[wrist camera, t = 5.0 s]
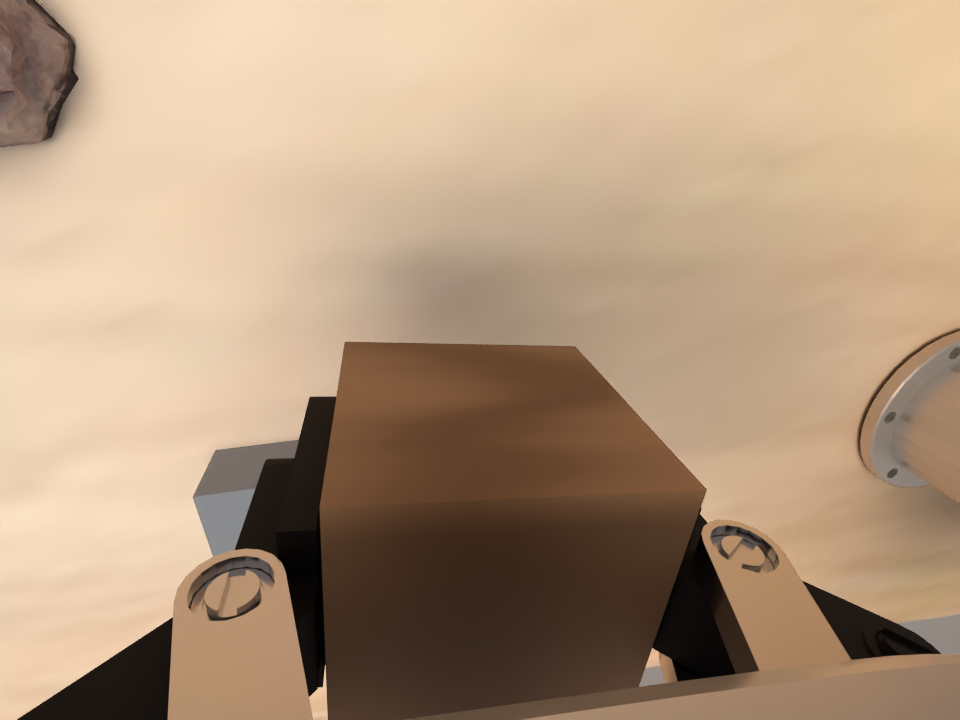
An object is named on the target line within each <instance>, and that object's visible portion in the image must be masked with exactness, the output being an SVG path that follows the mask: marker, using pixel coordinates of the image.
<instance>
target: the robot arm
mask: <svg viewBox="0 0 960 720" xmlns="http://www.w3.org/2000/svg"><path fill="white" fill-rule="evenodd" d="M335 404H336V397H310V398H309V402H308V406H307V410H306V414H305V418H304V422H303V426H302V430H301V434H300V438H299V442H298V446H297V450H296V453H295V457H294V458H273V459H267V460H266V461H265V463H264V465H263V468H262V471H261V474H260V477H259V480H258V483H257V486H256V488H255V491H254V494H253V497H252V500H251V503H250V506H249V509H248V512H247V515H246V518H245V521H244V524H243V527H242V530H241V533H240V535H239V538H238V541H237V544H236V547H235V550H233V551H228V552H225V553H222V554H220V555H217V556H214V557H212V558H210V559H209V560H207V561H205V562H203V563H202V564H200V565H198V566H197V567H196V568H195V569H194V570H193V571H192V572H191V573H189V574H188V575H187V576H186V577H185V579H184V580H183V582H182V583H181V585H180V586H179V588H178V589H177V593H176V596H175V600H174V610H173V618H171V619H170V620H168V621H167V622H165V623H163V624H162V625H160V626H159V627H157V628H156V629H154V630H153V631H151V632H150V633H148V634H147V635H145V636H144V637H142V638H141V639H139V640H138V641H136V642H135V643H133V644H132V645H130V646H128V647H127V648H125V649H124V650H122V651H121V652H119V653H118V654H116V655H115V656H113V657H112V658H110V659H109V660H107V661H106V662H104V663H103V664H101V665H100V666H98V667H96V668H95V669H93V670H92V671H90V672H89V673H87V674H86V675H84V676H83V677H81V678H80V679H78V680H77V681H75V682H74V683H72V684H71V685H69V686H68V687H66V688H65V689H63V690H61V691H60V692H58V693H57V694H55V695H54V696H52V697H51V698H49V699H48V700H46V701H45V702H43V703H42V704H40V705H39V706H37V707H36V708H34V709H33V710H31V711H30V712H28V713H26V714H25V715H23V716H22V717H20V718H19V719H17V720H313V717H312V711H311V706H310V700H309V696H311V695H312V694H313V693H314V692H315V691H316V690H317V687H323V679H324V669H325V665H326V657H325V632H324V607H323V582H322V558H321V533H320V501H321V495H322V488H323V482H324V475H325V469H326V462H327V456H328V449H329V443H330V436H331V430H332V423H333V417H334V410H335ZM860 447H861V456H862V458H863V461H864V464H865V465H866V467H867V468H868V469H869V470H870V472H872V473H873V474H874V475H876V476H877V477H879V478H880V479H881V480H883V481H884V482H886V483H888V484H891V485H893V486H897V487H904V488H910V487H921V486H925V485H931V486H933V487H934V488H936V489H937V490H939V491H941V492H942V493H944V494H945V495H947V496H948V497H950V498H952V499H953V500H955V501H956V502H958V503H959V504H960V331H958V332H955V333H953V334H950V335H947V336H945V337H943V338H941V339H939V340H937V341H935V342H933V343H931V344H930V345H928V346H926V347H925V348H923V349H922V350H921V351H919V352H918V353H916V354H915V355H914V356H912V357H911V358H910V359H909V360H908V361H907V362H905V363H904V364H903V365H902V366H901V367H900V368H899V369H898V370H897V371H896V372H895V373H894V374H893V375H892V376H891V378H890V379H889V380H888V381H887V382H886V383H885V384H884V386H883V387H882V389H881V390H880V392H879V393H878V395H877V396H876V398H875V399H874V401H873V403H872V405H871V407H870V409H869V411H868V413H867V415H866V418H865V421H864V424H863V427H862V432H861V439H860ZM701 509H702V508H700V510H699V513H698V516H697V519H696V522H695V525H694V528H693V531H692V534H691V536H690V539H689V542H688V545H687V548H686V551H685V554H684V557H683V560H682V562H681V565H680V568H679V571H678V574H677V577H676V580H675V583H674V586H673V588H672V591H671V594H670V597H669V600H668V603H667V606H666V609H665V612H664V615H663V617H662V620H661V623H660V626H659V629H658V632H657V635H656V638H655V641H654V643H653V646H652V648H654V649H655V650H657V651H659V660H660V665H661V669H662V673H663V677H664V681H665V684H657V685H650V686H644V687H635V688H628V689H620V690H613V691H606V692H598V693H591V694H584V695H576V696H569V697H562V698H555V699H547V700H540V701H533V702H525V703H518V704H511V705H504V706H497V707H490V708H483V709H476V710H469V711H462V712H455V713H447V714H440V715H433V716H426V717H419V718H412V719H405V720H960V655H949V654H941V653H940V652H939V651H938V650H936V649H935V648H934V647H933V646H932V645H931V644H930V643H928V642H927V641H926V640H924V639H923V638H922V637H920V636H919V635H917V634H916V633H914V632H912V631H910V630H908V629H906V628H904V627H902V626H900V625H899V624H896V623H894V622H892V621H890V620H888V619H885V618H883V617H881V616H879V615H877V614H874V613H872V612H870V611H868V610H866V609H863V608H861V607H859V606H857V605H855V604H852V603H850V602H848V601H846V600H844V599H841V598H839V597H837V596H835V595H832V594H830V593H828V592H826V591H824V590H821V589H819V588H817V587H815V586H813V585H810V584H808V583H806V582H804V581H802V580H801V578H800V577H799V575H798V574H797V572H796V570H795V569H794V567H793V566H792V564H791V562H790V561H789V559H788V558H787V556H786V554H785V553H784V552H783V551H782V549H781V548H780V547H779V546H778V544H776V543H775V542H774V541H773V540H772V539H770V538H769V537H768V536H767V535H765V534H763V533H762V532H760V531H758V530H757V529H755V528H753V527H750V526H748V525H745V524H743V523H739V522H735V521H731V520H715V521H711V522H709V523H707V522H706V521H705V519H704V518H703V517H702V516H701V515H700V512H701Z"/></svg>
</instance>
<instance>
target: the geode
mask: <svg viewBox="0 0 960 720" xmlns="http://www.w3.org/2000/svg"><path fill="white" fill-rule="evenodd" d="M74 53H75V44H74V43H73V42H72V40H71V39H70V37H69V36H68V35H67V33H66V32H65V30H64V29H63V28H62V27H61V26H60V25H59V24H58V23H57V22H56V21H55V20H54V19H53V18H52V17H51V16H50V15H49V14H48V13H47V12H46V11H45V10H44V9H43V8H42V7H41V6H40V5H39V4H38V3H37V2H36V1H35V0H0V147H4V146H12V145H20V144H29V143H36V142H41V141H43V140H45V139H48V138H50V137H52V135H53V132H54V129H55V125H56V122H57V119H58V116H59V113H60V110H61V108H62V105H63V103H64V101H65V100H66V98H67V97H68V95H69V93H70V92H71V90H72V89H73V87H74V86H75V84H76V82H77V81H78V77H77V76H76V74H75V72H74V71H73V61H74Z"/></svg>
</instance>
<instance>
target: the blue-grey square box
mask: <svg viewBox="0 0 960 720" xmlns="http://www.w3.org/2000/svg"><path fill="white" fill-rule="evenodd" d="M298 442H299V440H295V441H287V442H279V443H271V444H263V445H255V446H247V447H239V448H231V449H223V450H216V451H215V453H214V455H213V457H212V459H211V461H210V463H209V465H208V467H207V469H206V471H205V473H204V475H203V477H202V479H201V481H200V483H199V485H198V487H197V489H196V491H195V493H194V495H193V499H194V502H195V505H196V508H197V511H198V514H199V517H200V520H201V523H202V525H203V528H204V531H205V534H206V537H207V540H208V543H209V546H210V549H211V552H212V554H213V557H214V556H217V555H220V554H222V553H225V552H228V551H233V550H235V547H236V544H237V541H238V538H239V535H240V533H241V530H242V527H243V524H244V521H245V518H246V515H247V512H248V509H249V506H250V503H251V500H252V497H253V494H254V491H255V488H256V486H257V483H258V480H259V477H260V474H261V471H262V468H263V465H264V463H265V461H266V460H267V459H273V458H294V457H295V453H296V450H297V446H298Z"/></svg>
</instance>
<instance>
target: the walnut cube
mask: <svg viewBox="0 0 960 720" xmlns="http://www.w3.org/2000/svg"><path fill="white" fill-rule="evenodd" d="M706 490H707V489H706V488H705V487H704V486H703V485H702V484H701V483H700V482H699V481H698V480H697V478H696V477H695V476H694V475H693V474H692V473H691V472H690V471H689V470H688V469H687V468H686V466H685V465H684V464H683V463H682V462H681V461H680V460H679V459H678V458H677V457H676V456H675V455H674V453H673V452H672V451H671V450H670V449H669V448H668V447H667V446H666V445H665V444H664V443H663V441H662V440H661V439H660V438H659V437H658V436H657V435H656V434H655V433H654V432H653V431H652V430H651V428H650V427H649V426H648V425H647V424H646V423H645V422H644V421H643V420H642V419H641V418H640V417H639V415H638V414H637V413H636V412H635V411H634V410H633V409H632V408H631V407H630V406H629V405H628V403H627V402H626V401H625V400H624V399H623V398H622V397H621V396H620V395H619V394H618V393H617V392H616V390H615V389H614V388H613V387H612V386H611V385H610V384H609V383H608V382H607V381H606V380H605V378H604V377H603V376H602V375H601V374H600V373H599V372H598V371H597V370H596V369H595V368H594V367H593V365H592V364H591V363H590V362H589V361H588V360H587V359H586V358H585V357H584V356H583V355H582V353H581V352H580V351H579V350H578V349H577V348H576V347H575V346H528V345H477V344H427V343H377V342H345V345H344V351H343V358H342V365H341V371H340V378H339V384H338V391H337V397H336V404H335V410H334V417H333V423H332V430H331V436H330V443H329V449H328V456H327V462H326V469H325V475H324V482H323V488H322V495H321V501H320V533H321V558H322V582H323V607H324V632H325V657H326V681H327V706H328V720H405V719H412V718H419V717H426V716H433V715H440V714H447V713H455V712H462V711H469V710H476V709H483V708H490V707H497V706H504V705H511V704H518V703H525V702H533V701H540V700H547V699H555V698H562V697H569V696H576V695H584V694H591V693H598V692H606V691H613V690H620V689H628V688H635V687H639V684H640V681H641V678H642V675H643V672H644V669H645V667H646V664H647V661H648V658H649V655H650V652H651V649H652V646H653V643H654V641H655V638H656V635H657V632H658V629H659V626H660V623H661V620H662V617H663V615H664V612H665V609H666V606H667V603H668V600H669V597H670V594H671V591H672V588H673V586H674V583H675V580H676V577H677V574H678V571H679V568H680V565H681V562H682V560H683V557H684V554H685V551H686V548H687V545H688V542H689V539H690V536H691V534H692V531H693V528H694V525H695V522H696V519H697V516H698V513H699V510H700V508H701V505H702V502H703V499H704V496H705V493H706Z"/></svg>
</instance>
